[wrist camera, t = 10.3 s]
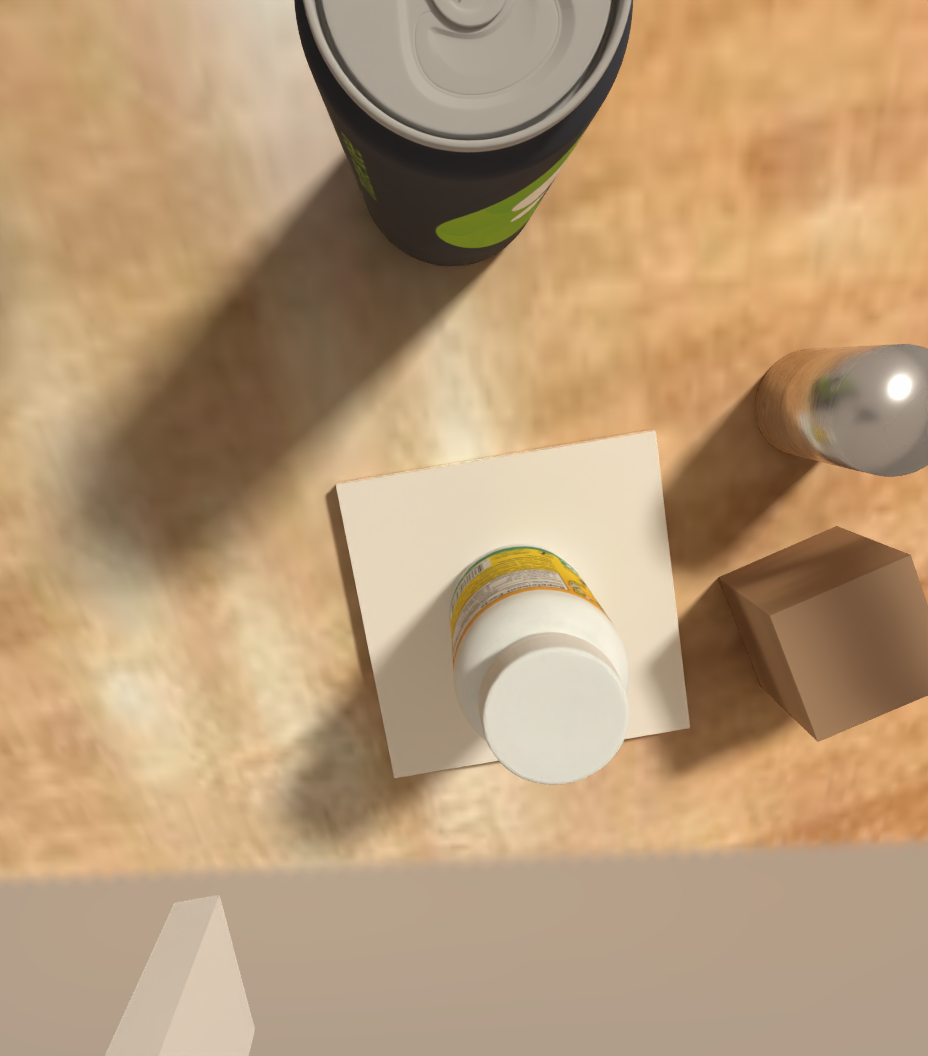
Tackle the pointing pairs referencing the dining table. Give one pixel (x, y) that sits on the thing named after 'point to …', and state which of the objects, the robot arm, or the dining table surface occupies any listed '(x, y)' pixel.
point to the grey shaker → (849, 407)
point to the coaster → (495, 521)
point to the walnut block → (833, 629)
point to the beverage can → (460, 107)
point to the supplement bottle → (538, 665)
